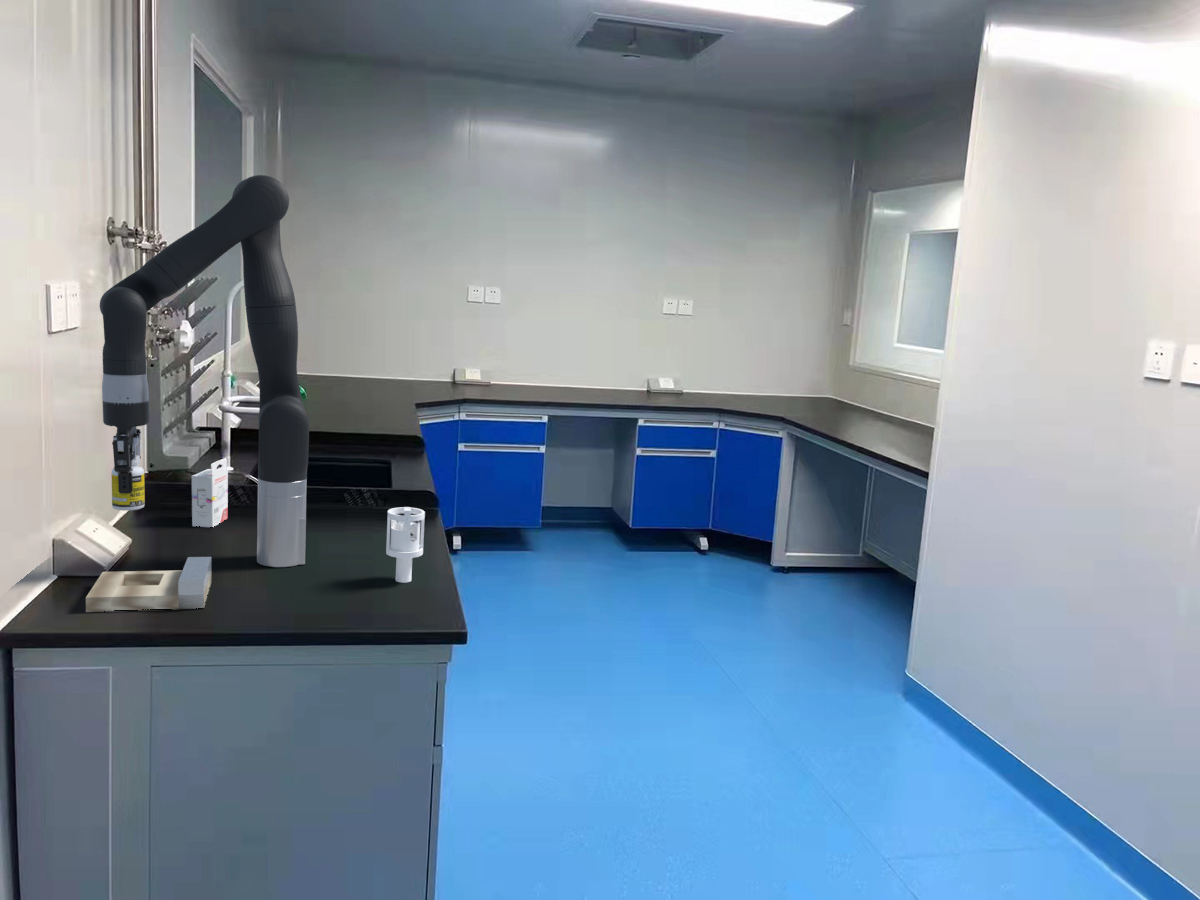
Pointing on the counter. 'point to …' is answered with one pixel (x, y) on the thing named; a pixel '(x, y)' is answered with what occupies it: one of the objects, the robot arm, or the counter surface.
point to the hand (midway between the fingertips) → (128, 489)
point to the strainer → (405, 539)
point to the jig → (152, 588)
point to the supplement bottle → (137, 495)
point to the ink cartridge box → (210, 495)
